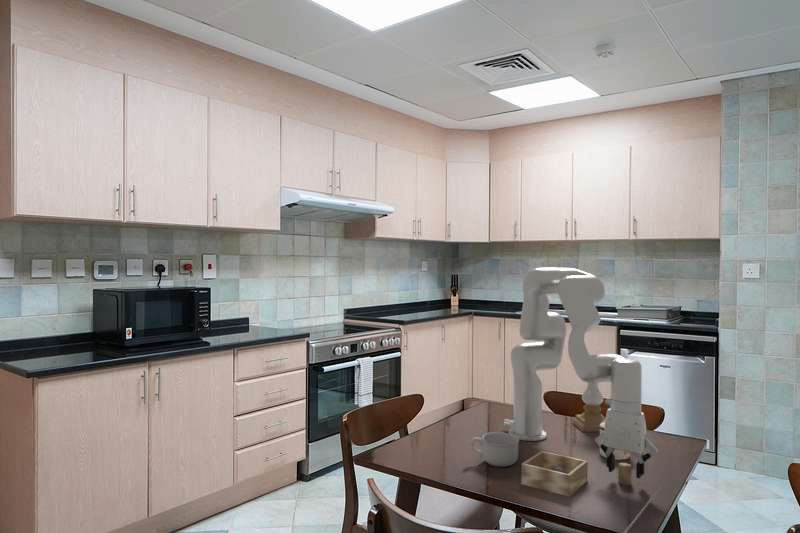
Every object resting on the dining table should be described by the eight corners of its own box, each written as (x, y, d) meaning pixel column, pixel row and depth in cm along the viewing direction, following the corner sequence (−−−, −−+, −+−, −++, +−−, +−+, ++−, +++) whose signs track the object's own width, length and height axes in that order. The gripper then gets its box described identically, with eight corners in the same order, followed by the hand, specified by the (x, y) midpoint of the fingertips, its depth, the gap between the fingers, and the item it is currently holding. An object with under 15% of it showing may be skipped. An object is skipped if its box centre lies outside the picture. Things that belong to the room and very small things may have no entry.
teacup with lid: (631, 462, 166) (631, 423, 166) (598, 458, 169) (598, 419, 169) (629, 449, 177) (629, 413, 177) (599, 446, 181) (599, 410, 181)
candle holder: (601, 422, 207) (602, 358, 207) (613, 431, 196) (614, 363, 196) (572, 422, 207) (572, 358, 207) (582, 431, 196) (583, 363, 196)
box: (521, 486, 148) (521, 463, 148) (541, 472, 158) (541, 450, 158) (569, 499, 140) (569, 475, 140) (587, 483, 150) (587, 461, 150)
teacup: (520, 460, 167) (521, 434, 167) (516, 473, 157) (516, 445, 157) (474, 455, 172) (475, 429, 172) (467, 467, 161) (467, 439, 161)
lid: (589, 490, 147) (589, 466, 147) (606, 474, 158) (606, 452, 158) (645, 504, 139) (645, 479, 139) (659, 486, 150) (659, 463, 150)
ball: (550, 479, 151) (550, 467, 151) (555, 475, 153) (555, 464, 153) (562, 482, 149) (562, 470, 149) (566, 478, 151) (566, 466, 151)
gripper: (588, 403, 151) (587, 470, 151) (657, 414, 140) (656, 486, 140) (597, 398, 156) (597, 462, 157) (664, 408, 146) (663, 477, 146)
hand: (625, 473), depth 148 cm, fingers open, 6 cm apart
